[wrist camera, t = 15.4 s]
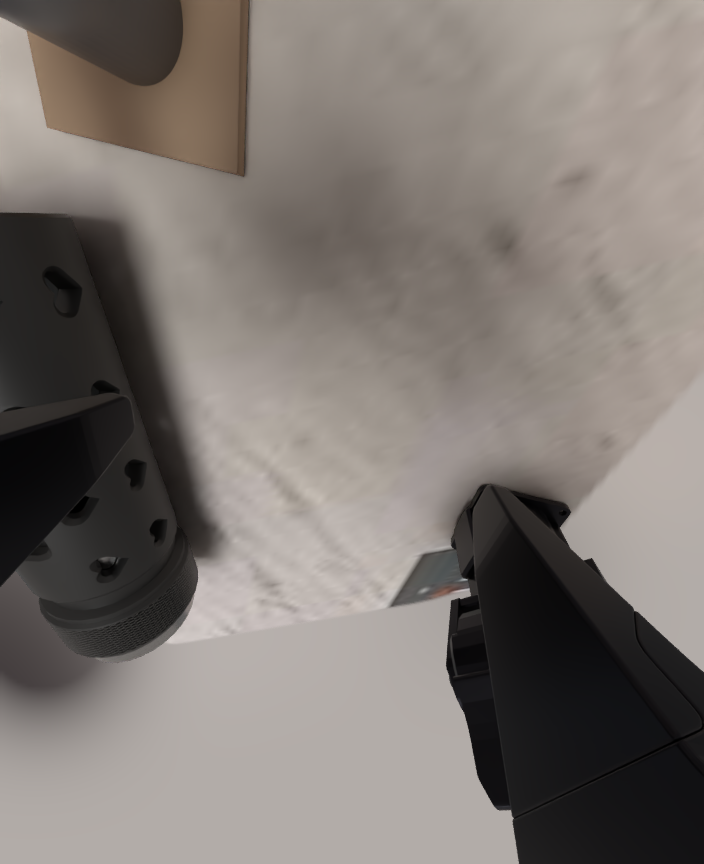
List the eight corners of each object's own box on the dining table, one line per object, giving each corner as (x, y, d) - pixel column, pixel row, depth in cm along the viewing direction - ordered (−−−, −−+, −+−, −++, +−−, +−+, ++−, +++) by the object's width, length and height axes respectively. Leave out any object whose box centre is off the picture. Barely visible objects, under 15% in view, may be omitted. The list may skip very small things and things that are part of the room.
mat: (252, -145, 12) (243, -167, 11) (243, 176, 17) (237, 174, 16) (-5, -210, 12) (-30, -236, 11) (61, 131, 16) (47, 127, 16)
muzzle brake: (134, 215, 18) (-112, 210, 9) (226, 560, 33) (163, 683, 24) (-26, 212, 19) (-386, 204, 10) (133, 549, 34) (40, 664, 25)
